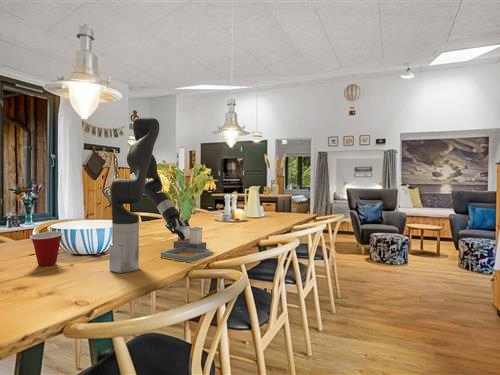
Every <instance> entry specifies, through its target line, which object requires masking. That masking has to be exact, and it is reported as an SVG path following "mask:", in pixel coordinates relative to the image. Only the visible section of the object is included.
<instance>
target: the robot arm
mask: <svg viewBox="0 0 500 375" xmlns="http://www.w3.org/2000/svg"><path fill="white" fill-rule="evenodd" d="M132 128H133V129H132V131H133V135H134V139H135V142H134V143H132V144H131V146H130V147H129V149H128V152H127V155H126V163H127V166H128V167H129V168H130V170H131V172H132V173H133V174H134V176H135V177H134V178H115V179H112V182H111V185H110V201H111V202H110V205H111V223H112V224H111V227H112V228H111V243H110V244H109V272H114V273H119V274H122V273H130V272H134V271H137V270H139V267H140V264H139V262H140V260H139V259H140V257H139V256H140V253H139V252H140V216H139V214H137V213H135V212H132V211H130V210H128V209H126V208H125V206H124V205H137V204H140V203H141V202H142V201H143V198H144V196H145V197H147V198H148V199H149V200H150V201H151V202H153V204H154V205H155V207H156V209H157V210H158V212H159V214H160V215H161V216H162V218H163V219H164V221H165V222H166V223H165V225H164V227H165V228H167V229H168V230H169V232H171V233H172V235H177V237H178V236H179V237H180V239H181V240H184V239H185V236H184V234H183V233H182V232H180V231H181V230H180V229H179V227H180V226H190V223H189V220H187V219H186V218H185V220H184V219H183V218H181V213H180V211H179V210H178V209H177V208H176V206H175V205H174V203H173V202H172V201H171V200H170V199H169V197H168V196H167V195H166V192H165V193H164V192H162V190H163V183H162V181H161V179H160V175H159V173H158V164H157V159H156V157H155V156H154V154H153V151H154V147H155V144H156V141H157V139H158V137H159V133H160V122H159V120H158V119H157V118H154V117H135V118H134V119H133V124H132ZM147 179H148V180H147ZM149 179H150V180H149ZM146 180H147V181H146Z"/></svg>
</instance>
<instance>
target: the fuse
mask: <svg viewBox="0 0 500 375" xmlns="http://www.w3.org/2000/svg"><path fill="white" fill-rule="evenodd" d="M202 242H203V227H201V226H200V227H199V226H194V227H190V243H192V244H200V243H202Z"/></svg>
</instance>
